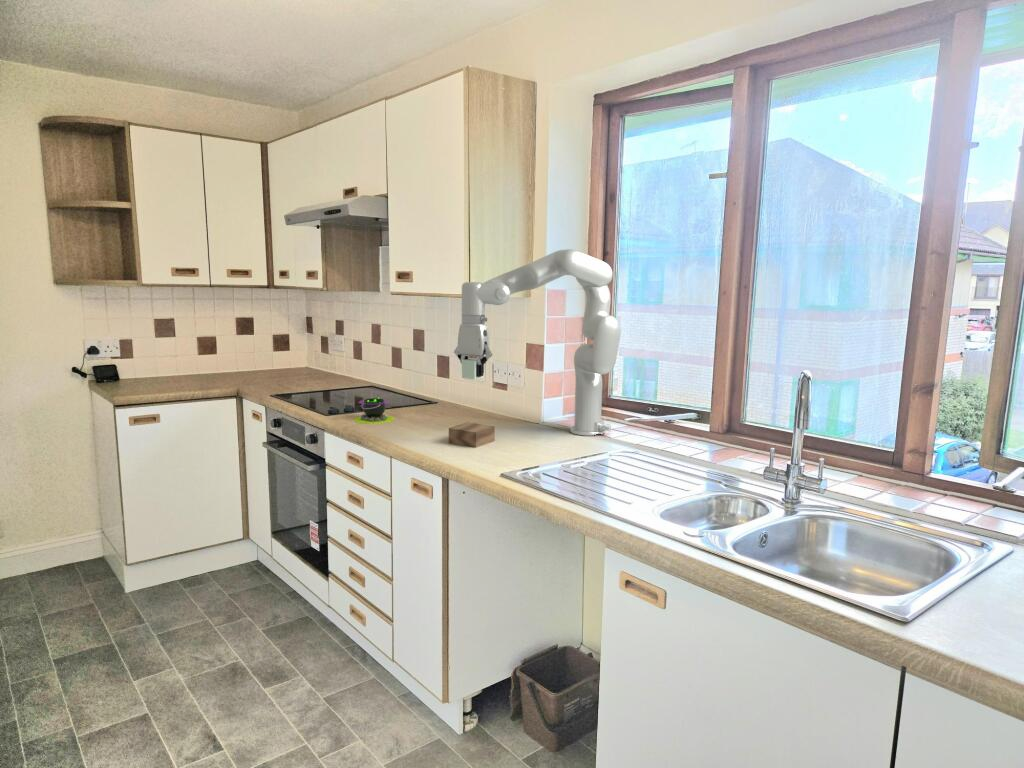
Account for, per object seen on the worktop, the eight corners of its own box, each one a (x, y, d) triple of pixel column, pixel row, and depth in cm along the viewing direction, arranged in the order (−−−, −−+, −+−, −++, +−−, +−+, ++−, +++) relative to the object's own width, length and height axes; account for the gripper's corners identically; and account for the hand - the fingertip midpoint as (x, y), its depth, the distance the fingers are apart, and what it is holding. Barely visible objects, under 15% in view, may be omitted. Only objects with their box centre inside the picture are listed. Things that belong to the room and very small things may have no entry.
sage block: (483, 377, 220) (483, 359, 220) (474, 379, 216) (474, 361, 215) (470, 376, 223) (470, 358, 222) (462, 377, 219) (462, 359, 218)
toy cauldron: (347, 419, 256) (346, 390, 255) (380, 414, 266) (380, 386, 265) (367, 425, 246) (367, 396, 244) (401, 420, 256) (401, 391, 254)
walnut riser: (494, 440, 225) (494, 426, 224) (475, 447, 216) (476, 432, 215) (468, 436, 231) (468, 422, 230) (448, 442, 221) (448, 428, 221)
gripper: (501, 321, 215) (500, 376, 218) (458, 318, 224) (458, 372, 227) (488, 322, 209) (487, 379, 212) (445, 319, 218) (445, 374, 221)
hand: (472, 375), depth 220 cm, fingers closed on sage block, 5 cm apart
